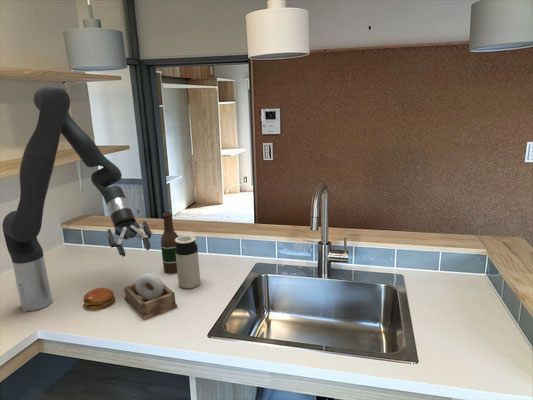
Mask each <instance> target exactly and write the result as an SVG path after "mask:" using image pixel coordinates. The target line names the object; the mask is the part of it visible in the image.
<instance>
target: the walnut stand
mask: <svg viewBox="0 0 533 400" xmlns="http://www.w3.org/2000/svg"><path fill="white" fill-rule="evenodd" d="M135 284H136V282H135V283H132V284H129V285H127V286H125V287H124V289H123V291H124V297H123V298H124V301H125V302H126V304H128V305H129V306H130V307H131V308H132V310H134V311H135V312H136V314H137V315H138V316H139V317H140V318H141V319H142V320H143V321H145V320H148V319H150V318H153V317H156V316H158V315H159V316H160V315H161V314H164V313H166V312H169V311H171V310H175V309H177V308H178V304H177V303H176V295H175V292H174V291H173V290H171V288H170V287H168V286H166V284H164V283H163V286H164V290H163V294H162V296H161V297H159V298H156V299H153V300H150V301H148V300H145V299H143V298H142V297H141V296H140V295H139V294H138V293H137V291H136V288H135ZM146 288H147V289H148V290H150V291H153V286H152V285H151V284H149V283H146Z"/></svg>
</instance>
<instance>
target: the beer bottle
mask: <svg viewBox="0 0 533 400" xmlns="http://www.w3.org/2000/svg"><path fill="white" fill-rule="evenodd" d="M172 216H173V214H172V212H171V211H165V212H163V213H162V217H163V234H162V235H161V237H160V238H161V239H160V248H161V257H162V266H163V271H164V273H166V274H170V275H171V274H175V273H176V274H178V272H177V262H176V253H175V247H176V245H177V244H176V242H175V239H176V238H177V237H179V235H178V234H177V233H176V231H175V229H174V223H173V217H172Z"/></svg>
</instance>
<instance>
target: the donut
mask: <svg viewBox="0 0 533 400" xmlns="http://www.w3.org/2000/svg"><path fill="white" fill-rule="evenodd" d="M135 283H136V284H135ZM135 283H134V284H135V288H136V291H137V293H138V294H139V295H140V296H141V297H142V298H143V299H145V300H148V301H150V300H153V299H156V298H159V297H161V296H162V294H163V290H164V286H163V284H164V283H163V281H162V280H161V278H160V277H159V276H158V275H156V274H155V273H151V272H146V273H142V274H140V275H139V276H138V277H137V278H136V280H135ZM146 283H149V284H151V285H152V286H153V291H150V290H148V289H147V288H146Z"/></svg>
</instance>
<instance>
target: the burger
mask: <svg viewBox="0 0 533 400" xmlns="http://www.w3.org/2000/svg"><path fill="white" fill-rule="evenodd" d="M115 297H116V296H115V294H114V291H113V290H112V289H110V288H107V287H97V288H94V289H91V290H89V291H88V292H86V293H85V294H84V295H83V303H84V304H83V306H84V307H85V308H87V309H88V310H89V311H100V310H104V309H106V308H107V307H108V306H110V305H112V304H113V303H114V302H116V298H115Z"/></svg>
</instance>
